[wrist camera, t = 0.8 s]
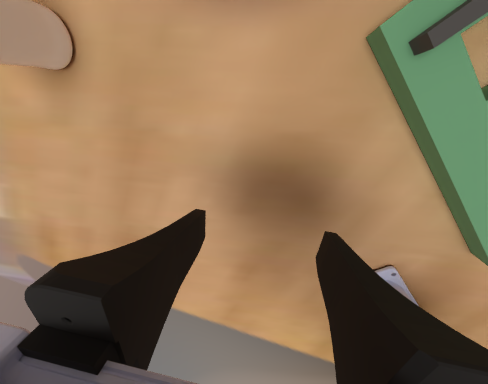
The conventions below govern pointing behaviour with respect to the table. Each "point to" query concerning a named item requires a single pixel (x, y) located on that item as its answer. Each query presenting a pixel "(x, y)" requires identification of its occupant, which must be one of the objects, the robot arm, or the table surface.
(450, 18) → the green board
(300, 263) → the table surface
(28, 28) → the drinking glass
